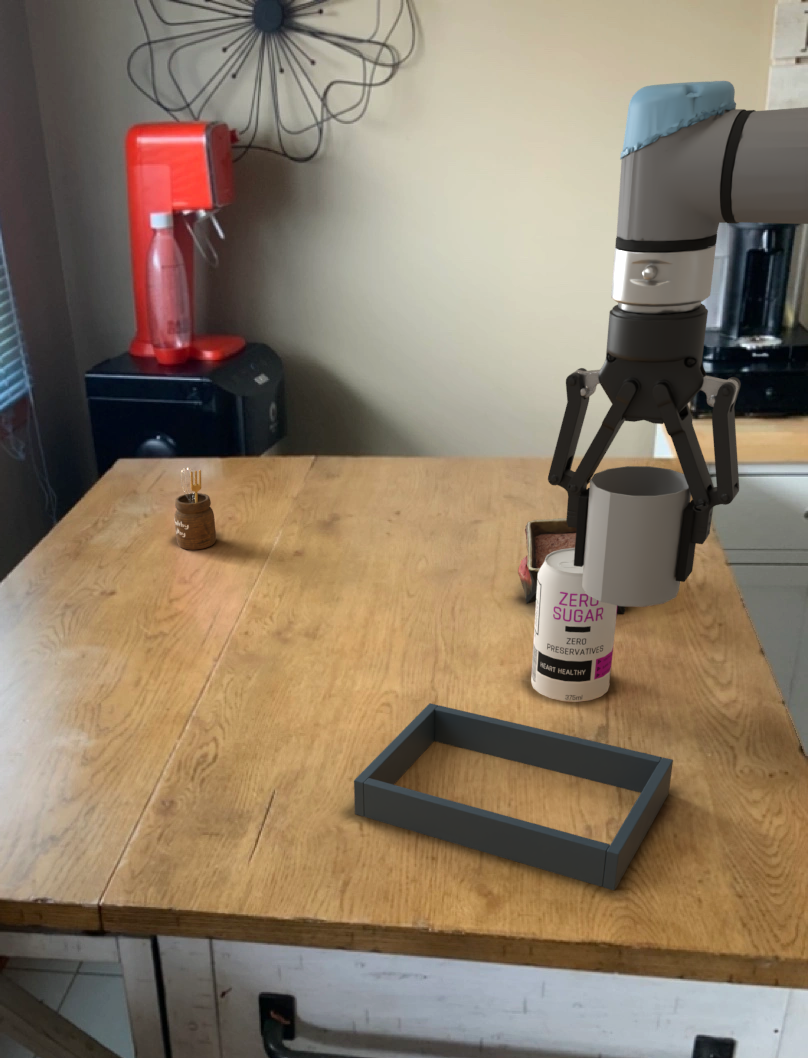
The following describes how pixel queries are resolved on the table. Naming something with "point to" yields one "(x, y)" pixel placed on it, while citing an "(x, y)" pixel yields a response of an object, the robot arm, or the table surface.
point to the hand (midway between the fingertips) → (632, 568)
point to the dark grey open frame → (504, 832)
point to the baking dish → (544, 551)
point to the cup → (634, 535)
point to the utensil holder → (194, 518)
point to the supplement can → (570, 634)
